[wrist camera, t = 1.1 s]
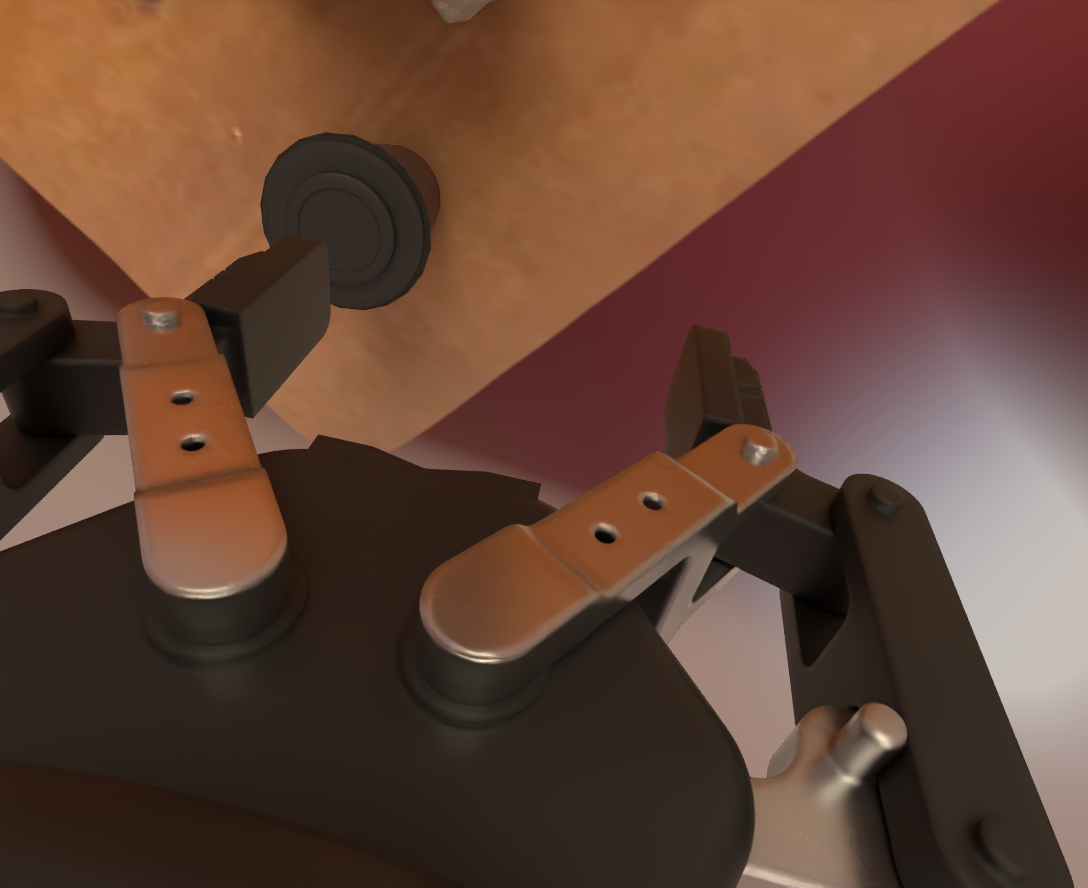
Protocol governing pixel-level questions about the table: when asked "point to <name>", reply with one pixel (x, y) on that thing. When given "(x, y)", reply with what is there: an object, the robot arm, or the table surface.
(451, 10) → the ceramic sculpture
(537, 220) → the table surface
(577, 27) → the table surface
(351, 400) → the table surface
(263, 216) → the coffee cup
